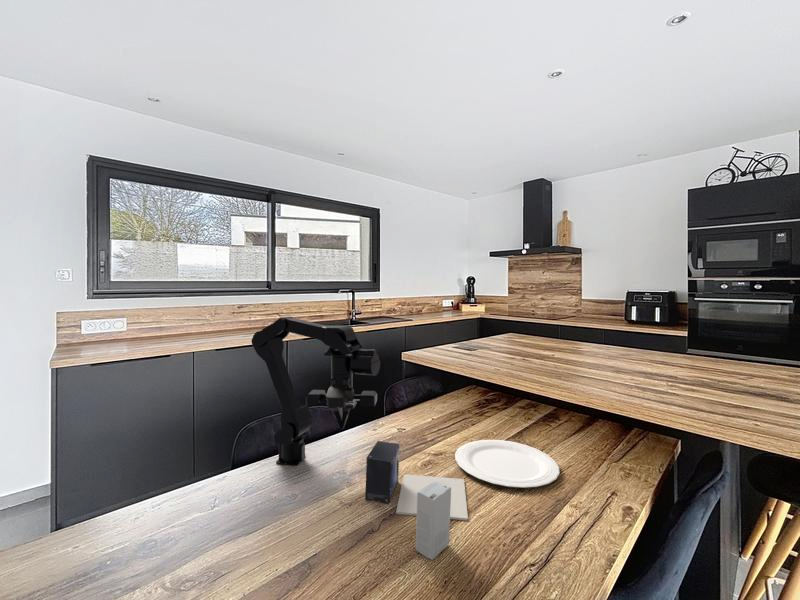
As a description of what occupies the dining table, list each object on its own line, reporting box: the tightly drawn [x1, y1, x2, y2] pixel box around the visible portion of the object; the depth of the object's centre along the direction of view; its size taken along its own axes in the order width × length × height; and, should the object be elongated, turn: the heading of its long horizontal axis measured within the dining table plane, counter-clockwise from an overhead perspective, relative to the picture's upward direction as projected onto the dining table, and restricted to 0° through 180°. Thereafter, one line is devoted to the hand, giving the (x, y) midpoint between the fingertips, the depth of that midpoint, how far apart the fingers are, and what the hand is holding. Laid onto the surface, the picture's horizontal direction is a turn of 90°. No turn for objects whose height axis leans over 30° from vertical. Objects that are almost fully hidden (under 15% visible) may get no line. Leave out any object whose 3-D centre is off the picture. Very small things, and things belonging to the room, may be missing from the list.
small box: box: [364, 440, 400, 504], centre depth 94 cm, size 11×6×10 cm, turn 168°
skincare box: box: [414, 481, 451, 561], centre depth 74 cm, size 6×4×12 cm
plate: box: [454, 439, 560, 489], centre depth 110 cm, size 29×29×2 cm
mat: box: [395, 474, 469, 522], centre depth 93 cm, size 16×17×1 cm
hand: (342, 429), depth 103 cm, fingers closed
